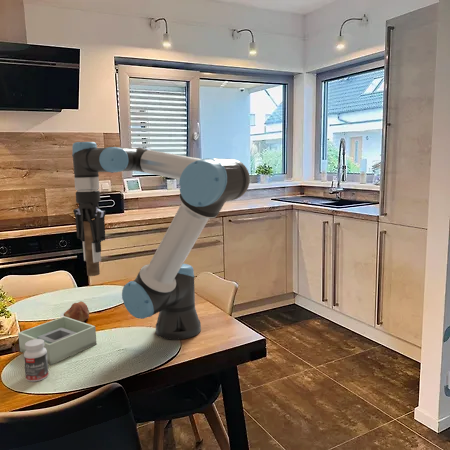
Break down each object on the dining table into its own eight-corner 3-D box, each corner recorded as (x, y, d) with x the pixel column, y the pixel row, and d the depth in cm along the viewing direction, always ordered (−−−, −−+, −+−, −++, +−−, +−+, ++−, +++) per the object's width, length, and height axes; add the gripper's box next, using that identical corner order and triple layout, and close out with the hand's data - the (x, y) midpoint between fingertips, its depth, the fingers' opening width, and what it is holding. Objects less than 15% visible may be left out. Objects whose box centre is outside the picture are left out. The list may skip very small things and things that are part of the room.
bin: (96, 344, 135) (95, 326, 134) (50, 364, 122) (49, 345, 121) (65, 333, 144) (64, 316, 143) (20, 351, 131) (18, 332, 130)
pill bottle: (25, 384, 112) (22, 348, 110) (26, 374, 117) (22, 340, 115) (49, 379, 114) (46, 344, 112) (48, 370, 119) (45, 336, 117)
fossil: (68, 321, 144) (66, 293, 149) (53, 328, 148) (52, 301, 152) (98, 323, 154) (96, 297, 159) (83, 330, 158) (82, 304, 162)
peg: (102, 273, 143) (98, 220, 140) (92, 276, 140) (88, 222, 137) (94, 272, 145) (90, 219, 143) (84, 275, 142) (80, 221, 139)
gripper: (114, 190, 136) (118, 261, 140) (80, 188, 146) (85, 255, 150) (95, 192, 130) (100, 266, 134) (61, 190, 140) (67, 260, 144)
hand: (92, 260), depth 142 cm, fingers closed on peg, 4 cm apart
